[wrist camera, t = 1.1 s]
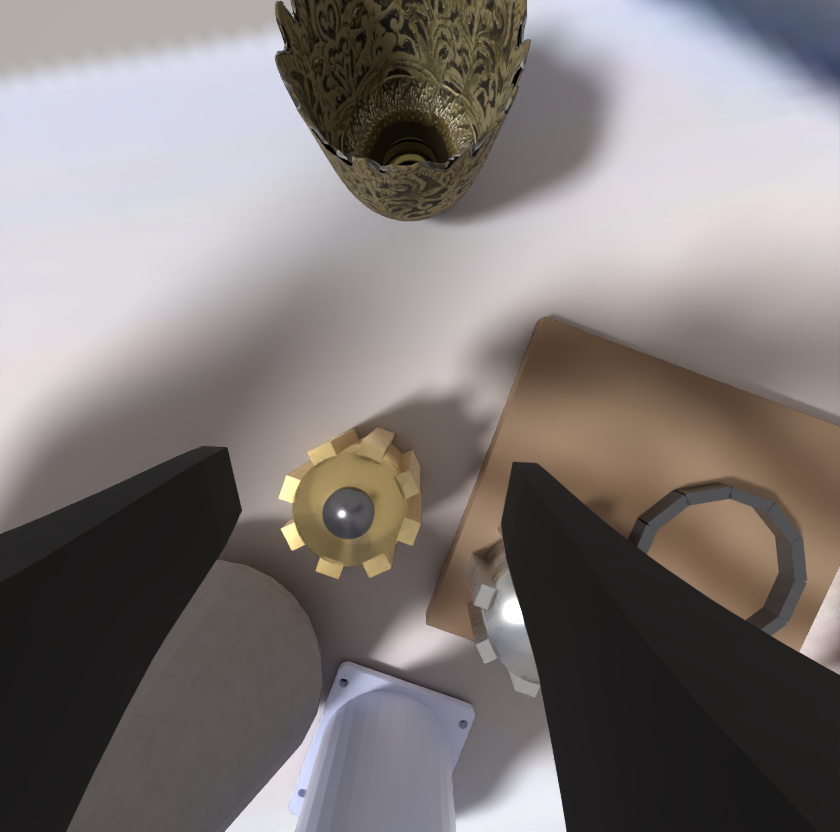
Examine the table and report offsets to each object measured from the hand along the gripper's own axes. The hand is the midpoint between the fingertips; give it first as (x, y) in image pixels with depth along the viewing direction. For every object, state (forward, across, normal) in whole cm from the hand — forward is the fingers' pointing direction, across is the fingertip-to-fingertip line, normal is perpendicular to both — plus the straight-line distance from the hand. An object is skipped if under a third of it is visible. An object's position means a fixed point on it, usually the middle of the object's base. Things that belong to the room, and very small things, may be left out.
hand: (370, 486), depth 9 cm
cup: (+14, 0, -8) cm, 16 cm away
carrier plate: (+7, -14, +8) cm, 17 cm away
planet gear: (+8, +1, +6) cm, 10 cm away
